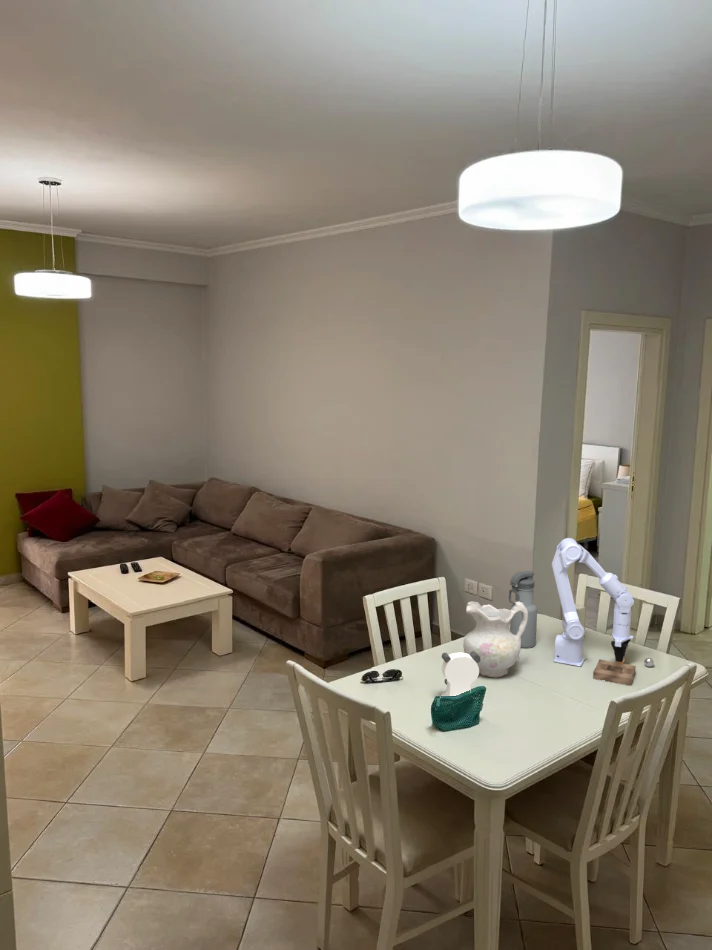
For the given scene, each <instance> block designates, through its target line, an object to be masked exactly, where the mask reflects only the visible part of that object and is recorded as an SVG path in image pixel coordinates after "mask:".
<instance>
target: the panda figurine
mask: <svg viewBox="0 0 712 950" xmlns="http://www.w3.org/2000/svg"><path fill="white" fill-rule="evenodd" d="M441 658H442V659H443V662H442V665H441V672H442V675H443V677H444V678H445V679H444V684H445V685H446V691H445V692H443V693H442V694H441V695H440V697H441V696H442V695H446V696H456V695H459V694H461V693H464V692H466V691H469V690H470V691H471V690H472V689H471V688H472V684H473V683H474V682H475V681H476V680H477V679H478V677H479V675H480V674H479V667H478V665H477V663H479V662H480V660H481V659H480V656H479V655H478V654H477V653H476V652H475V651H472V652H471V653H470V655H469V654H467V653H465V652H453V653H450V654H448V653H447V652H443V653H442V654H441Z"/></svg>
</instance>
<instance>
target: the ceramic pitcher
mask: <svg viewBox="0 0 712 950" xmlns="http://www.w3.org/2000/svg"><path fill="white" fill-rule="evenodd" d="M465 612H466V614H468V615H470V616H472V618H473V619H474V621H475V628H474V629H472V630H471V631H469V632H467V633H466V635H465V637H464V638H463V647H462V648H463V651H464V652H463V653H467V654H469V655H470V653H471V652H472V651H475V652H476V653H477V654H478V655H479V656H480V659H481V660H480V662H479V663H477V665H478V667H479V675H481V676H483V677H489V678H496V679H499V678H501V677H503V676H506V675H507V674H509V673H510V671H509V670H508V669H509V668H511V667H513V666H514V664H515V663H516V662H517V660H518V659H519V656H520V653H521V648H520V647H521V635H522V634H523V632H524V631H525V627H526V625H527V621H528V611H527V609H526V608H525V606H524V603H522V601H521V602H520V601H517V602H514V607H513V608H512V609H511V608H510V609H507V608H498V609H497V608H496V607H495V606H493V605H492V604H483V605H481V604H480V603H479V602H477V601H468V602H467V604H466V609H465ZM519 612H521V614H522V622H521V624H520V626H519V629H518V632H517V634H516V635H514V634H513V633H511V632H510V622H511V620H512V617H513V616H514V615H515V614H517V613H519Z"/></svg>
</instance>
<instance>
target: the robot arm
mask: <svg viewBox="0 0 712 950" xmlns="http://www.w3.org/2000/svg"><path fill="white" fill-rule="evenodd" d="M575 562H578V563H582V564H585V565H586V566H587V567H588V569H590V570H591V571H592V572H593V573H594V575H596V576H597V578H598V583H599V585H600V586H601V587H602V589H603V590H604V591H605V592H606V593H607V594H608V595H609V596H610V597H611V598H612V599H613V601H614V607H613V608H614V609H613V620H612V621H613V624H612V633H611V637H612V638H613V640H611V642H610V644H611V647H612V651H613V654H614V660H616V661H617V662H622V661H623V657H624V658H625V656H626V652H627V649H628V646H629V643H630V642H631V640H634V635H631V624H632V623H631V620H632V606H634V604H635V600H634V596H633V595H632V594H631V592H630V591H629V590H628V588H627V586H626V584H625V585H624V584H622V582H621V581H619V577H618V576H617V575H616V573H615V574H613V573H612V572H606V571H605V570H604V569H603V567H602V566H601V565H600V563H599V562H597V560H596V559H595V558H594V557H593V556H592V554H591V553H590V552H589V550H587V549H585V548H584V547H583V546H582V545H581V544H579V543H578V542H577V541H576V540H575V539H574V538H572V537H566V538H564V539H562V540H560V542H559V543H558V545H557V546H556V551H555V554H554V557H553V559H552V562H551V569H552V573H553V577H554V581H555V586H556V589H557V594H558V598H559V602H560V607H561V611H562V621H561V625H562V628H563V629H564V631H563V632H562V634H556V637H555V640H554V641H555V642H554V656H553V657H554V659H553V662H554V663H559V664H560V663H561V664H565V665H571V666H576V667H582V665H583V663H584V662H585V660H586V658H585V657H583V653H584V652H583V650H584V648H583V647H584V637H583V636H584V633H586V630H585V631H584V628H583V626H582V625H581V623H580V621H579V618H578V615H577V612H576V608H575V604H576V603H575V599H574V595H573V591H572V588H571V587H572V586H571V584H570V580H569V576H568V575H569V574H568V570H569V568H570V566H571V565H572V564H574V563H575ZM616 661H615V662H616Z"/></svg>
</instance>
